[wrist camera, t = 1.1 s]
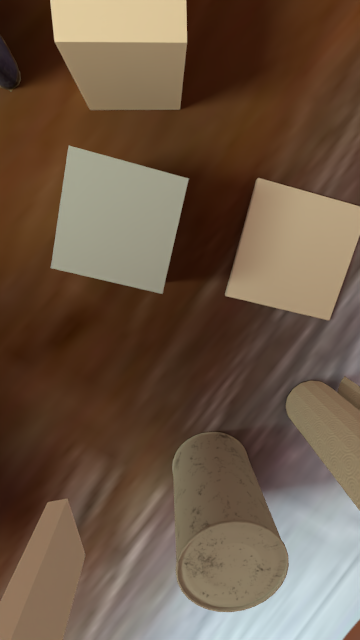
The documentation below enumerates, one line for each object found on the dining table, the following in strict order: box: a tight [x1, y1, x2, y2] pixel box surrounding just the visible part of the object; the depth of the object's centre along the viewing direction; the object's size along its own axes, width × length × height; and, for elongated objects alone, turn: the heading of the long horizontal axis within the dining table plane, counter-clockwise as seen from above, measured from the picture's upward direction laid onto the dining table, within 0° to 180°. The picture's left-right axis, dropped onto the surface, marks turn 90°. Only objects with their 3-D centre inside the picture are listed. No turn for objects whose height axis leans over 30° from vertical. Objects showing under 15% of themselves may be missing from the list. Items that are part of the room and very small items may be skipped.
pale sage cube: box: [51, 146, 189, 294], centre depth 25 cm, size 8×8×9 cm
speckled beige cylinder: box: [172, 432, 289, 612], centre depth 30 cm, size 10×10×12 cm
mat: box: [225, 178, 360, 320], centre depth 31 cm, size 12×12×1 cm
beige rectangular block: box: [50, 0, 187, 110], centre depth 22 cm, size 8×8×9 cm
